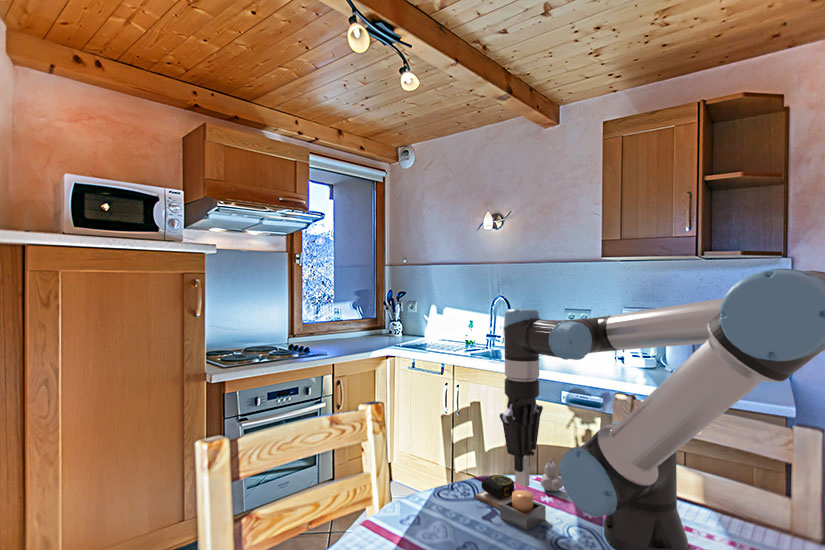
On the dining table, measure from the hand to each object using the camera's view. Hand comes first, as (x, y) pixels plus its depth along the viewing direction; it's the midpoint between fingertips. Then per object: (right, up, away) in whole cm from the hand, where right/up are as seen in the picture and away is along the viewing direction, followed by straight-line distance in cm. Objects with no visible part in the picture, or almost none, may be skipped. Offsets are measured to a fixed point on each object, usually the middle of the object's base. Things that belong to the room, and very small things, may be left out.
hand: (522, 484), depth 102 cm
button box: (0, -8, 0) cm, 8 cm away
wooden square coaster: (-3, -8, +9) cm, 12 cm away
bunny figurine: (+11, -8, +13) cm, 19 cm away
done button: (0, -5, 0) cm, 5 cm away
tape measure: (-4, -7, +9) cm, 12 cm away
